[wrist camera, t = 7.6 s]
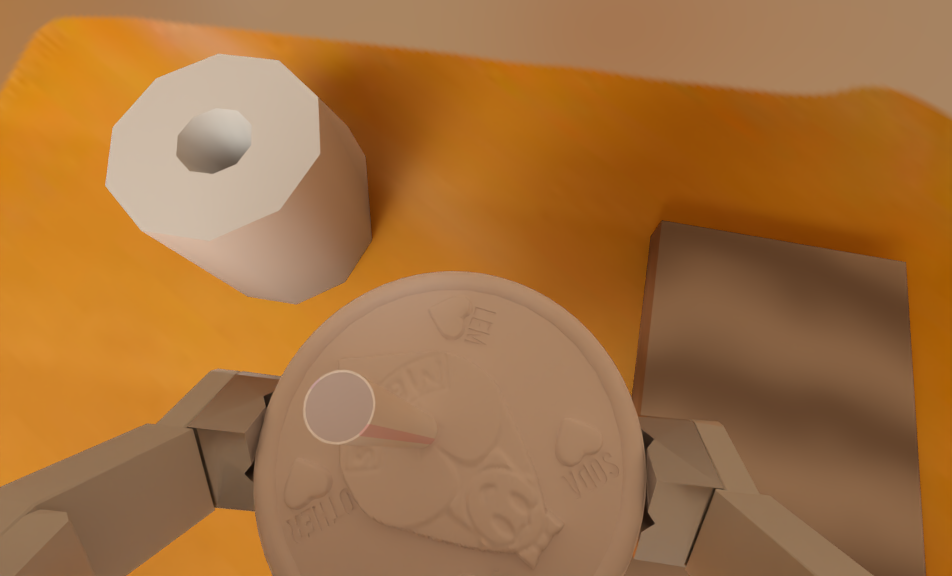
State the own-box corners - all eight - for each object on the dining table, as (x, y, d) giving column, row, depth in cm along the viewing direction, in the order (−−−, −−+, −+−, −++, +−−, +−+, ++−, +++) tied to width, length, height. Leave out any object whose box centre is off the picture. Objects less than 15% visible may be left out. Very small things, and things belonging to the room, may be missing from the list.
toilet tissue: (361, 101, 31) (313, -21, 23) (376, 292, 27) (323, 224, 19) (224, 122, 31) (128, 7, 23) (217, 316, 27) (95, 257, 19)
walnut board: (892, 664, 20) (933, 686, 19) (609, 590, 22) (619, 603, 20) (876, 275, 26) (905, 262, 24) (650, 236, 27) (662, 220, 25)
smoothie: (462, 327, 18) (377, -4, 5) (602, 440, 17) (1012, 395, 3) (343, 465, 17) (-219, 517, 4) (486, 603, 15) (431, 1588, 2)
